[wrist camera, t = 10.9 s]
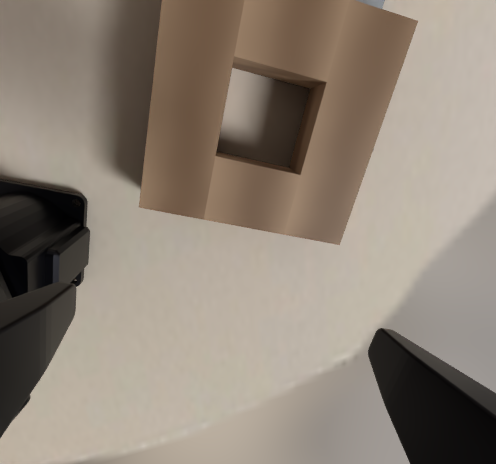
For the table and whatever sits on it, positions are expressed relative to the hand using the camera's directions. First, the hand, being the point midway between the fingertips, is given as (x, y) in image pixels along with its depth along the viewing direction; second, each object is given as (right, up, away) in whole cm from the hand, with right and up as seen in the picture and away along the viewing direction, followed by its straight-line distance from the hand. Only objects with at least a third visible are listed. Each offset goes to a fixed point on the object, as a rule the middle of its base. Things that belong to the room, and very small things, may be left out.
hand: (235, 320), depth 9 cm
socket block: (+1, +9, +10) cm, 13 cm away
